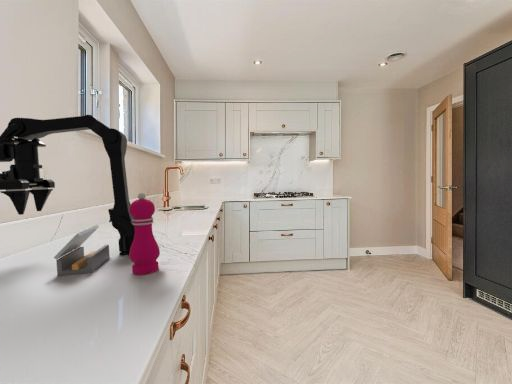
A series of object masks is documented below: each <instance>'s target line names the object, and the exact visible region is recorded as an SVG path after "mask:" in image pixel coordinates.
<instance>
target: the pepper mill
mask: <svg viewBox="0 0 512 384" xmlns="http://www.w3.org/2000/svg"><path fill="white" fill-rule="evenodd" d="M137 198H138V199H136V200H134V201H132V202H130V204H131V205H130V209H129V211H130V214H131V215H132V216H133V218H134V219H132V221H133V223H132V224H133V225H134V228H135V235H134V240H133V243H132V245H131V248H130V253H129V254H128V255H129V256H128V258H129V260H130V261H131V262H132V263H133V264H132V265H131V267H132V268H131V269H132V271H131V272H132V274H134V275H138V276H139V275H142V276H143V275H150V274H152V273H155V272H157V271H158V270H159V261H157V260H158V259H159V258H160V253H161V251H160V247H159V245H158V243H157V240H156V239H155V237H154V232H153V224H154V217H153V215H154V214H155V211H156V207H155V204H154V202H152V201H151V200H149V199H146V194H145V193H143V192H140V193H139V194H138V195H137Z"/></svg>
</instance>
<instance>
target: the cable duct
mask: <svg viewBox="0 0 512 384" xmlns="http://www.w3.org/2000/svg"><path fill="white" fill-rule="evenodd" d="M84 248H85V247H84V246H80V247H78V248H76V249H75V250H73V251H71V252H69V253H67V254H66V255H64V256H62V257H60V258H58V259H55V260H56V273H57V276H67V275H77V274H88V273H93V272H95V271H96V270H97V269H98V268H99V267H101V265H103V264H104V263H106V262H107V260H108V259H110V258H111V257H110V245H109V244H104V245H103V246H101V247H99V248H98V249H97V250H95V251H94V250H93V251H90V252H89V253H87V254H85V249H84Z"/></svg>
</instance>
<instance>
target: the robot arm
mask: <svg viewBox="0 0 512 384" xmlns="http://www.w3.org/2000/svg"><path fill="white" fill-rule="evenodd" d="M87 130H90V131H92V132H93V133H94V134H96V135H97V136H98V137H100V138H101V141H102V143H103V147H104V149H105V152H106V154H107V156H108V159H109V165H110V166H109V167H110V175H111V182H112V183H111V184H112V192H113V199H114V203H113V207H112V208H109V209H108V214H109V221H108V222H109V223H111V226H112V227H113V228H114V229H116V230H117V232H118V234H119V239H118V252H119V255H129V253H130V248H131V245H132V243H133V240H134V235H135V228H134V225H133V224H132V223H133V221H132V219H134V218H133V216H132V215H131V214H130V211H129V209H130V205H131V201H130V198H129V187H128V180H127V179H128V178H127V171H126V169H127V168H126V159H125V158H126V154H127V149H128V148H127V146H128V139H127V136H126V135H125V134H124V133H123V132H121V131H120V130H119V129H116V128H113V127H111V128H110V127H109V126H107V125H106V124H104V123H103V122H101V121H99V119H98V118H97V117H95V116H93V115H91V114H85V115H79V116H69V117H59V118H50V119H37V118H28V117H26V118H25V117H14V118H11V119H10V121H9V122H8V124H7V127H5V129H4V131H3V132H1V134H0V163H8V162H9V163H10V162H14V164H10V166H9V169H8V170H6V171H5V170H4V171H1V170H0V193H1V194H4V195H6V196H8V198H9V199H10V200H11V202H12V204H13V207H14V208H15V210H16V211H17V215H19V216H21V215H24V214H25V211H26V208H27V203H28V200H29V196H30V194H32V195H33V200H34V205H35V209H36V211H37V212H42V210H43V208H44V206H45V204H46V203H47V200H48V198H49V196H50V195H51V193H52V191H54V189H55V188H56V185H55V183H56V182H55V181H54V180H52V179H44V178H43V177H41V176H40V175H41V174H40V173H41V172H40V169H43V165H42V164H40V162H39V161H40V159H39V149H38V147H39V148H45V147H46V146H47V145H46V144H45V143H44V142H42V140H41V138H42V139H43V138H45V137H47V136H49V135H52V134H53V135H54V134H60V133H68V132H69V133H70V132H71V133H72V132H78V131H87Z"/></svg>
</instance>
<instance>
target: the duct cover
mask: <svg viewBox="0 0 512 384" xmlns="http://www.w3.org/2000/svg"><path fill="white" fill-rule="evenodd" d="M99 227H100V226H99V225H98V224H95V225H93V226H92V227H89V228H87V229H84V230H82V231H79V232H77V233H76V234H75V235H74V236H72V238H71V239H70V240H69V241H68V242H67V243H66V244H65V245H64V247H62V248H61V249H60V250H59V252H58V253H57V254H56V255H55V256H54V257H53V259H55V260H57V259H59V258H61V257H63V256H64V255H66V254H68V253H70V252H72V251H73V250H75V249H77V248H79V247H82V245H83V244H84V243H85V242H86V241H87V240H88V239H89V238H90V237H91V236H92V234H94V233H95V232H96V230H97V229H98V228H99Z"/></svg>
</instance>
